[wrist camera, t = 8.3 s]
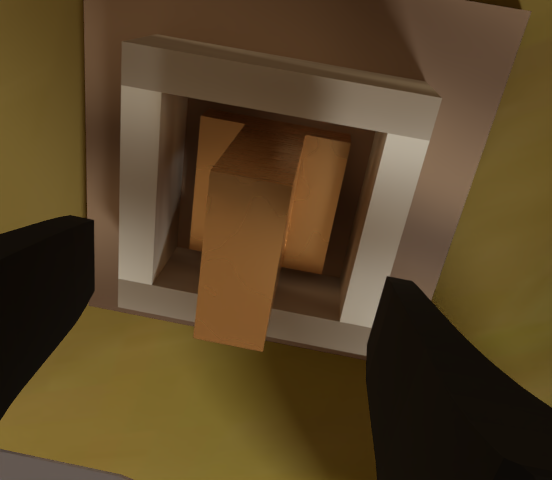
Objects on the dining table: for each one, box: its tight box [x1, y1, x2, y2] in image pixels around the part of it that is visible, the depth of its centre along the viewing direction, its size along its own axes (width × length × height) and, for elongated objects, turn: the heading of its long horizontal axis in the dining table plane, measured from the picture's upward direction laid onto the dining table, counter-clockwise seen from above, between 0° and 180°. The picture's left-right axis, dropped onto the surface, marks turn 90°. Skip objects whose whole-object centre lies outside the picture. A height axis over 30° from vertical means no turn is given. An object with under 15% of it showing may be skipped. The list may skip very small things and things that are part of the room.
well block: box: [84, 0, 531, 360], centre depth 18 cm, size 14×14×4 cm
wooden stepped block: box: [189, 109, 351, 352], centre depth 16 cm, size 5×5×6 cm
